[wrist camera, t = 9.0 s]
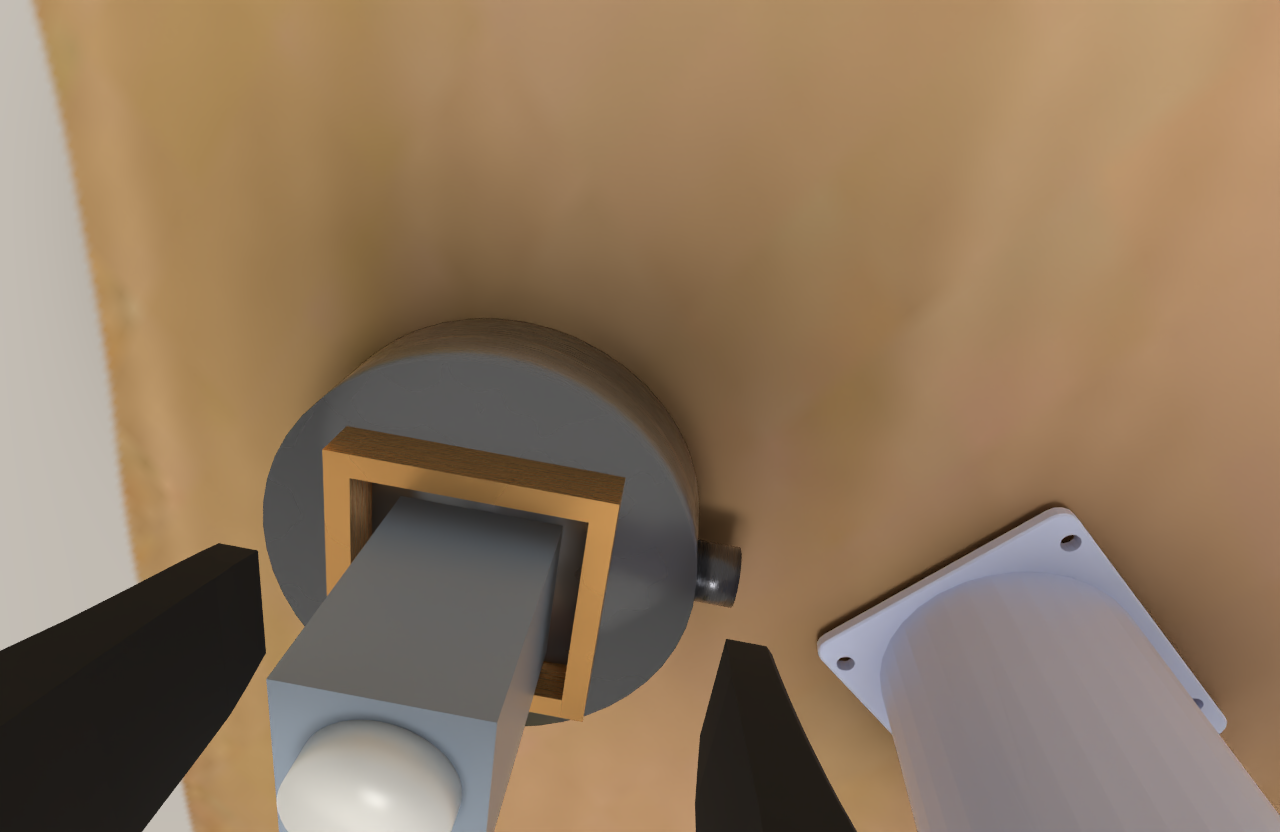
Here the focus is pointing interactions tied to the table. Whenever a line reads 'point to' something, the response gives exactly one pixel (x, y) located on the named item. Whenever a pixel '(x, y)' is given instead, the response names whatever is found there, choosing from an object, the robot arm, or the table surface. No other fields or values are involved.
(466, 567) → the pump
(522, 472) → the grey disc square socket
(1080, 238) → the table surface
